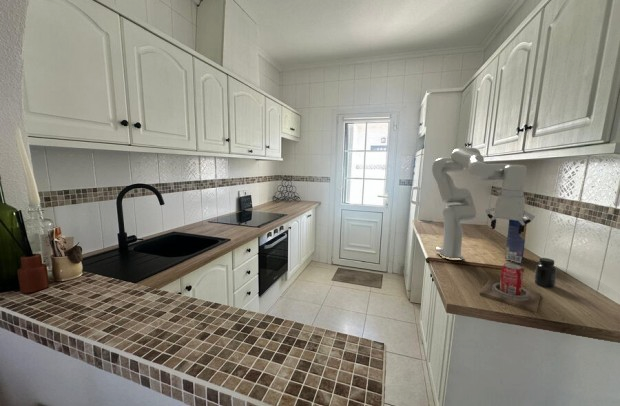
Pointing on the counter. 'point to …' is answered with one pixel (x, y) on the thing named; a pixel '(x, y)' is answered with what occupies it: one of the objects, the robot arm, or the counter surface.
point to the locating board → (513, 302)
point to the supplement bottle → (545, 273)
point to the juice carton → (515, 241)
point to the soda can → (511, 279)
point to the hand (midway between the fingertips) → (506, 230)
